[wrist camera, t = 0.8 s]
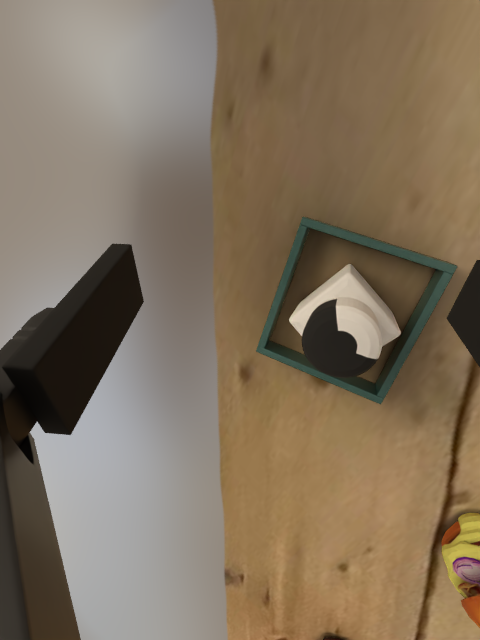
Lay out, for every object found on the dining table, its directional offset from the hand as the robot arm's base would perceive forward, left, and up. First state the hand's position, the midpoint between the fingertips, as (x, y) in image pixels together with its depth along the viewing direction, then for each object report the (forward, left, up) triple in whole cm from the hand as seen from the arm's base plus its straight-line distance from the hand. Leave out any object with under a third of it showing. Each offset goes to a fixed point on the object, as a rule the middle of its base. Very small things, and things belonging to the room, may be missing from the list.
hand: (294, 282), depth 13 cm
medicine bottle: (+6, +4, -24) cm, 25 cm away
